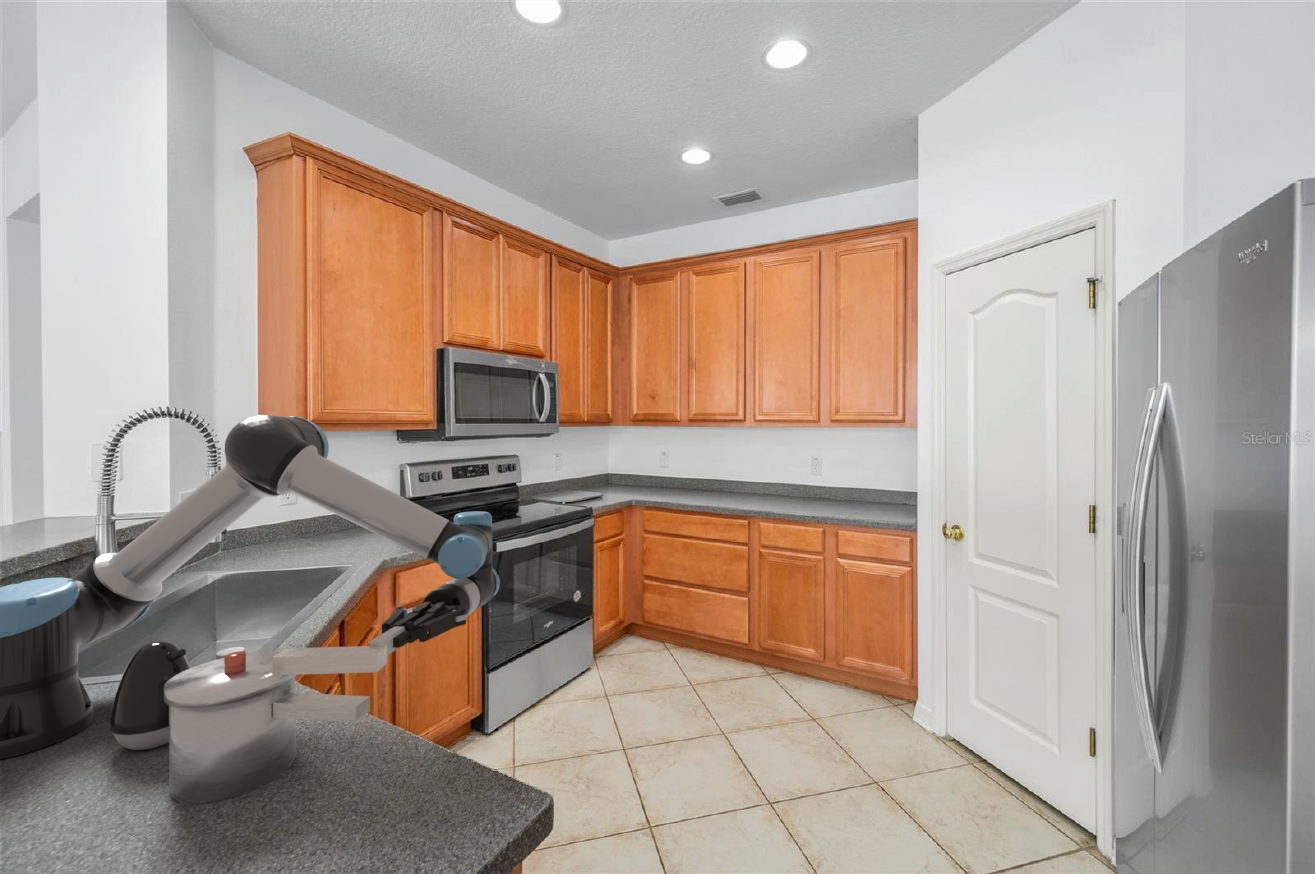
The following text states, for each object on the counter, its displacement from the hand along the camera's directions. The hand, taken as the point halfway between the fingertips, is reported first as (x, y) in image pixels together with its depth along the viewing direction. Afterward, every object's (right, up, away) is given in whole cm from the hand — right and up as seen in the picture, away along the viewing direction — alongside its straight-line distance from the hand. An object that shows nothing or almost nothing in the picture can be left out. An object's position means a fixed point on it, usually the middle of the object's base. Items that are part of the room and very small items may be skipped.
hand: (374, 650), depth 81 cm
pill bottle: (-33, -16, +16) cm, 40 cm away
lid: (-12, -3, -3) cm, 12 cm away
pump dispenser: (-36, -16, +5) cm, 40 cm away
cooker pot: (-12, -16, -4) cm, 20 cm away
